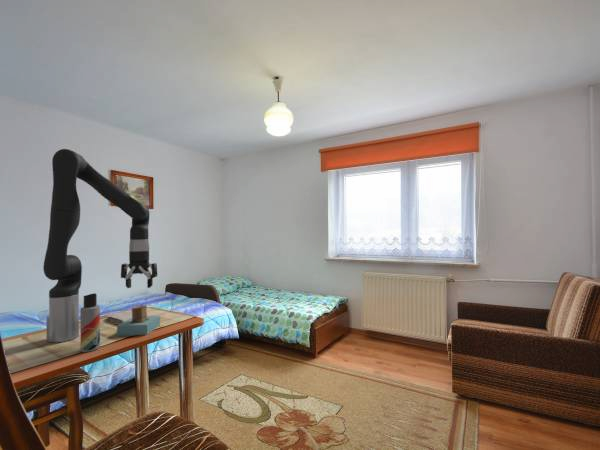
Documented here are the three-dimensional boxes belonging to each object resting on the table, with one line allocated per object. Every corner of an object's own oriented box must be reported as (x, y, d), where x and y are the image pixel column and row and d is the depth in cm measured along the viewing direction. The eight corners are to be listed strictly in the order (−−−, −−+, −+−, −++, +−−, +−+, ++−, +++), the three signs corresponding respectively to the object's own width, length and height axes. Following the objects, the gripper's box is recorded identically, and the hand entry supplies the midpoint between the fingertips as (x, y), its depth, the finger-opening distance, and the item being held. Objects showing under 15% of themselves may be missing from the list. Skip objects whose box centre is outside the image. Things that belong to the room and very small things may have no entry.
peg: (132, 331, 122) (132, 308, 122) (137, 328, 126) (137, 305, 126) (142, 331, 122) (141, 307, 122) (146, 328, 126) (146, 305, 126)
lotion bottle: (89, 352, 101) (89, 295, 101) (76, 351, 102) (76, 295, 102) (103, 346, 107) (103, 292, 107) (91, 345, 108) (90, 291, 108)
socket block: (117, 335, 117) (117, 325, 117) (132, 325, 129) (132, 317, 129) (147, 334, 118) (147, 324, 118) (160, 324, 130) (160, 316, 130)
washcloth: (129, 314, 150) (129, 308, 150) (149, 319, 140) (149, 312, 141) (104, 320, 140) (104, 314, 140) (123, 326, 130) (123, 319, 130)
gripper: (117, 250, 120) (117, 289, 120) (152, 250, 121) (152, 289, 121) (127, 249, 128) (127, 286, 127) (159, 249, 128) (159, 285, 128)
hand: (139, 287), depth 124 cm, fingers open, 8 cm apart
